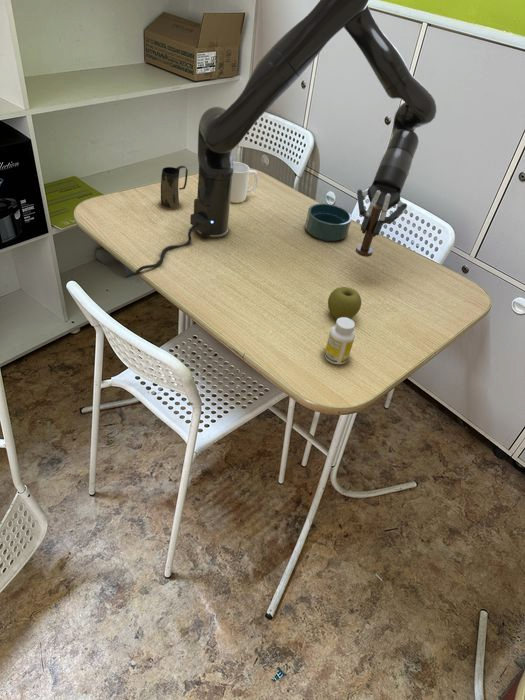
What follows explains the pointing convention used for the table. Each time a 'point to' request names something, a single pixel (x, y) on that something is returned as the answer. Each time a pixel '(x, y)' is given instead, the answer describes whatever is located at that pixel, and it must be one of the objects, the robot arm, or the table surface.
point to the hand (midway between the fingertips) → (368, 233)
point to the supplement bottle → (340, 341)
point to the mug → (171, 187)
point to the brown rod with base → (369, 233)
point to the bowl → (328, 222)
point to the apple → (344, 302)
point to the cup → (241, 182)
